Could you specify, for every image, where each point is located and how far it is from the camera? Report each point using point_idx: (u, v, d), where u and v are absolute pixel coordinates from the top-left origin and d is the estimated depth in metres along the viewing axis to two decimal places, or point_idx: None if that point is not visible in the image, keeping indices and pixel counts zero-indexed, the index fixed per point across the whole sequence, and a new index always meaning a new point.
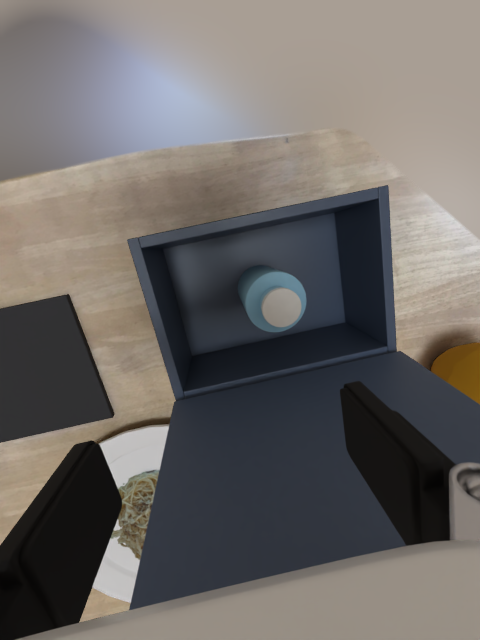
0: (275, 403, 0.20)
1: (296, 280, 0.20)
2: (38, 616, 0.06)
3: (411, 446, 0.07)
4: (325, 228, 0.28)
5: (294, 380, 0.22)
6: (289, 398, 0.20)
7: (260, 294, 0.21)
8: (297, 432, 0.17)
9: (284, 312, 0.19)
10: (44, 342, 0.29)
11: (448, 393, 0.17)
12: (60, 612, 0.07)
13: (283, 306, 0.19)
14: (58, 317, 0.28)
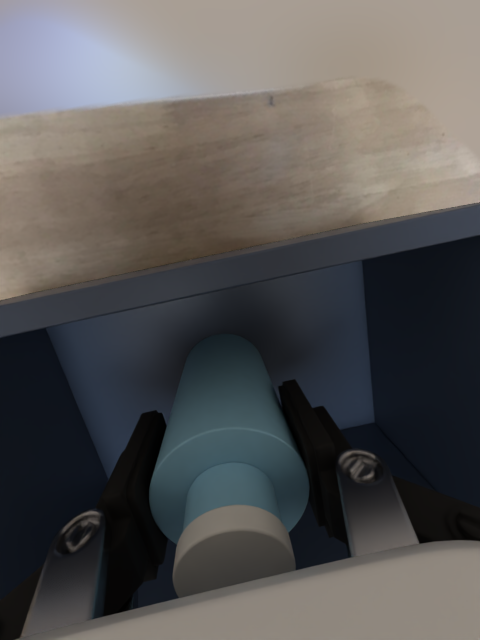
0: None
1: (283, 445, 0.08)
2: (140, 545, 0.07)
3: (313, 435, 0.08)
4: (343, 267, 0.15)
5: None
6: None
7: (188, 481, 0.08)
8: None
9: None
10: None
11: None
12: (154, 545, 0.08)
13: (239, 572, 0.06)
14: None
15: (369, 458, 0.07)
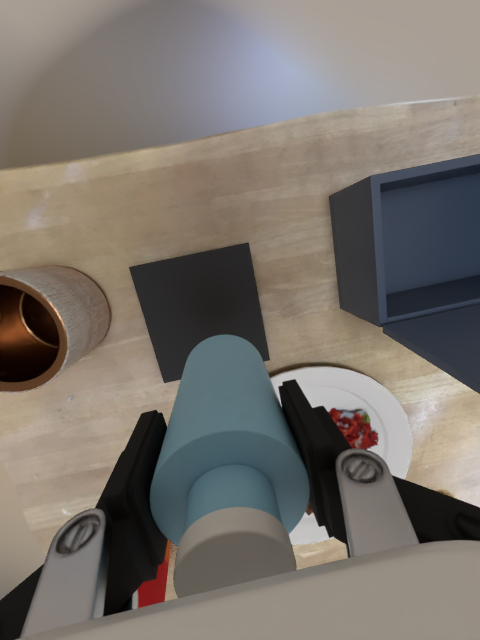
0: None
1: (284, 447, 0.08)
2: (140, 545, 0.07)
3: (313, 435, 0.08)
4: None
5: None
6: None
7: (189, 483, 0.08)
8: None
9: None
10: (222, 287, 0.32)
11: None
12: (154, 545, 0.08)
13: (239, 574, 0.06)
14: (238, 263, 0.32)
15: (369, 458, 0.07)
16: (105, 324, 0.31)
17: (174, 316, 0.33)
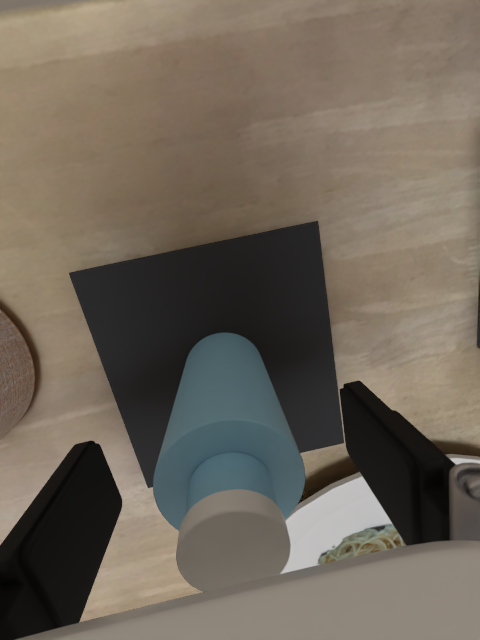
0: None
1: (280, 436, 0.08)
2: (38, 616, 0.06)
3: (411, 446, 0.07)
4: None
5: None
6: None
7: (190, 469, 0.08)
8: None
9: (241, 564, 0.07)
10: (262, 311, 0.16)
11: None
12: (60, 612, 0.07)
13: (238, 551, 0.06)
14: (295, 264, 0.15)
15: None
16: (20, 393, 0.15)
17: (166, 369, 0.16)
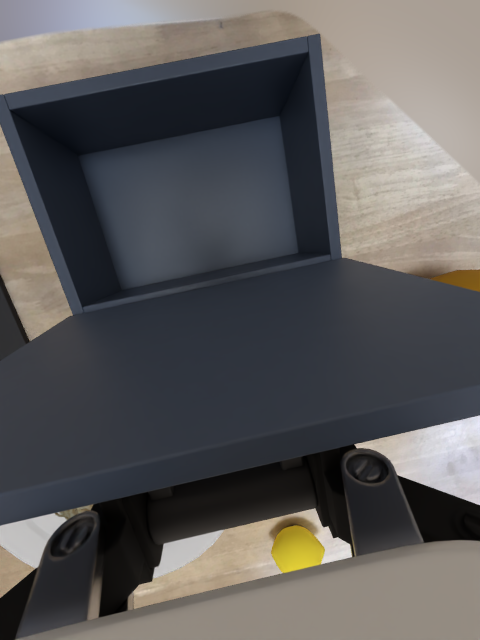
0: (178, 304, 0.16)
1: None
2: (136, 547, 0.07)
3: None
4: (270, 135, 0.24)
5: (212, 288, 0.18)
6: (196, 299, 0.16)
7: None
8: (183, 320, 0.13)
9: None
10: None
11: (384, 274, 0.13)
12: (149, 547, 0.08)
13: None
14: None
15: (375, 458, 0.07)
16: None
17: None
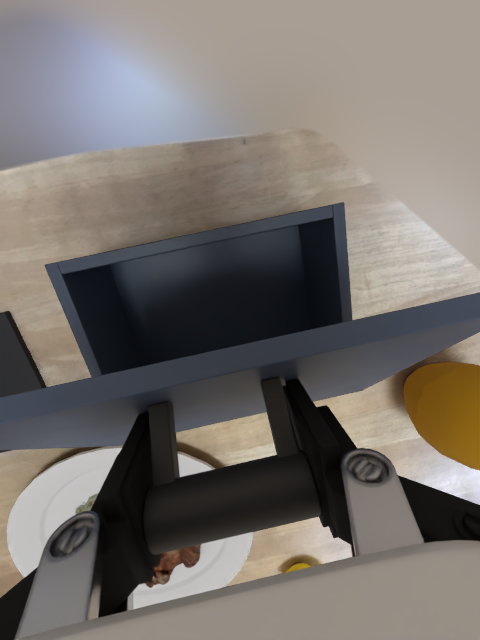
0: None
1: None
2: (135, 547, 0.07)
3: (318, 435, 0.08)
4: (288, 240, 0.26)
5: None
6: None
7: None
8: None
9: None
10: None
11: None
12: None
13: None
14: None
15: (375, 458, 0.07)
16: None
17: None
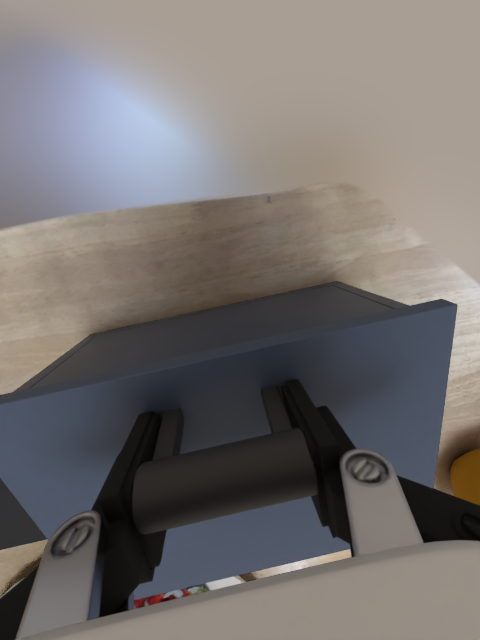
0: None
1: None
2: (136, 547, 0.07)
3: (317, 435, 0.08)
4: None
5: None
6: None
7: None
8: None
9: None
10: None
11: None
12: (150, 547, 0.08)
13: None
14: None
15: (374, 458, 0.07)
16: None
17: None
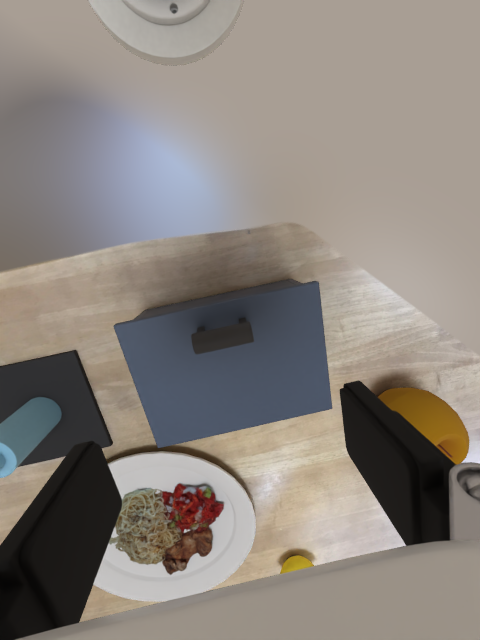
0: None
1: (3, 445, 0.28)
2: (38, 616, 0.06)
3: (411, 446, 0.07)
4: None
5: None
6: None
7: None
8: None
9: None
10: (56, 387, 0.36)
11: None
12: (60, 612, 0.07)
13: None
14: (67, 368, 0.35)
15: None
16: None
17: None
